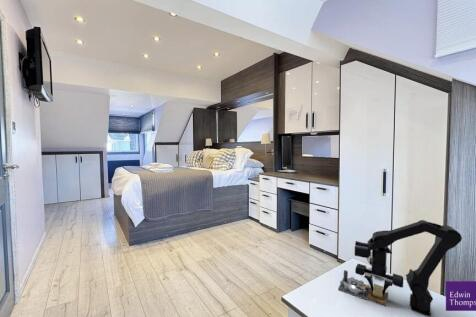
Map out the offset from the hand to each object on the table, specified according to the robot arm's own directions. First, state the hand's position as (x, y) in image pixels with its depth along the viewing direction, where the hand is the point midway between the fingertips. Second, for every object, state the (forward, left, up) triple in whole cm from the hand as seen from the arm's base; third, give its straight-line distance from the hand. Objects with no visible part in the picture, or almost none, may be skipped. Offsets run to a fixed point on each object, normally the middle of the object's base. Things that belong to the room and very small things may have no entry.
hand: (377, 292), depth 105 cm
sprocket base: (+10, -1, -3) cm, 11 cm away
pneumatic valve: (+3, -22, -3) cm, 22 cm away
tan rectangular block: (0, 0, -2) cm, 2 cm away
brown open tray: (0, 0, -3) cm, 3 cm away
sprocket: (+10, -1, -3) cm, 11 cm away
